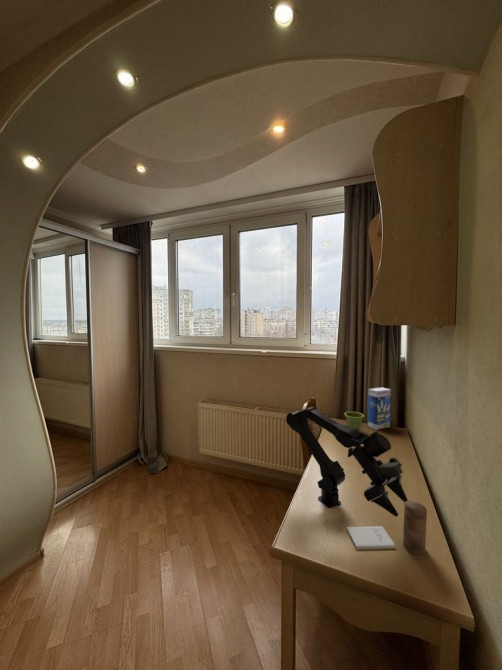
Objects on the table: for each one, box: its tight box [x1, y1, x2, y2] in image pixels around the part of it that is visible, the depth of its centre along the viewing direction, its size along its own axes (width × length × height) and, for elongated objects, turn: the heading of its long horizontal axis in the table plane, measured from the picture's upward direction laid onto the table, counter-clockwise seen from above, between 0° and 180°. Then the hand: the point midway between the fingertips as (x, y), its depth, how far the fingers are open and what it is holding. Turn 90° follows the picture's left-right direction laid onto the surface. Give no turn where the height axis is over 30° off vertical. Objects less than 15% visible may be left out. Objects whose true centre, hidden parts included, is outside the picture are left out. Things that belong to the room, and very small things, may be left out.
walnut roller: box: [402, 500, 428, 556], centre depth 85 cm, size 6×6×13 cm
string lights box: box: [367, 386, 392, 431], centre depth 184 cm, size 13×8×26 cm, turn 115°
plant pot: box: [344, 411, 365, 432], centre depth 175 cm, size 12×12×11 cm
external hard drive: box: [345, 526, 396, 550], centre depth 89 cm, size 2×8×12 cm
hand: (402, 509), depth 87 cm, fingers open, 9 cm apart
